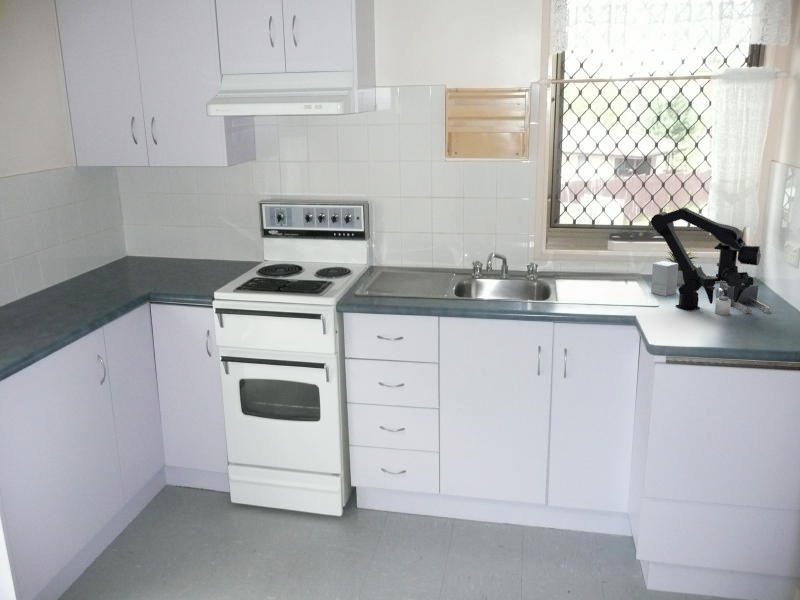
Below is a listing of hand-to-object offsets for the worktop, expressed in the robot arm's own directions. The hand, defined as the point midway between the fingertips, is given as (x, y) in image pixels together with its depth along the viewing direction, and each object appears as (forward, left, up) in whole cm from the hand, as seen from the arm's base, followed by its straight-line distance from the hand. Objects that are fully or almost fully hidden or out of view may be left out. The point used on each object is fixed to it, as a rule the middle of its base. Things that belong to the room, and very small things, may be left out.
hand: (723, 302), depth 264 cm
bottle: (0, 0, -4) cm, 4 cm away
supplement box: (-31, +1, -4) cm, 31 cm away
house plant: (-39, +16, -4) cm, 42 cm away
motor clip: (-2, +13, -4) cm, 14 cm away
